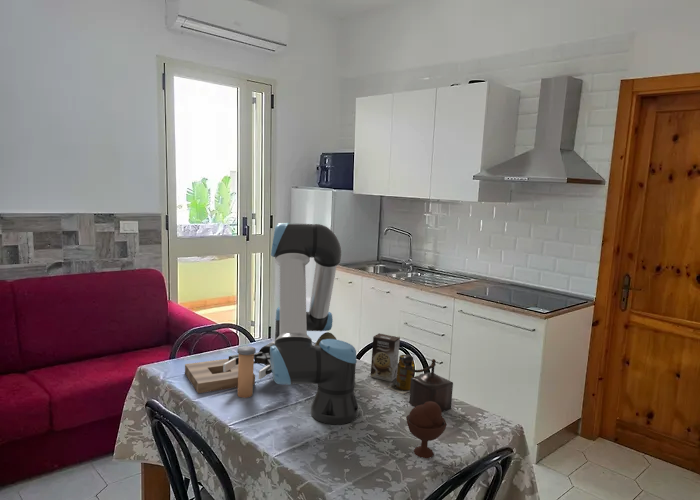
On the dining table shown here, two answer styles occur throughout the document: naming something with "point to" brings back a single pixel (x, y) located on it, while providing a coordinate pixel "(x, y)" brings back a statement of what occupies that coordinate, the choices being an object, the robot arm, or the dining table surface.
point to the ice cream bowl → (426, 426)
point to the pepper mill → (428, 386)
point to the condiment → (402, 378)
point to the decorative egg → (325, 337)
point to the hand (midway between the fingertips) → (241, 371)
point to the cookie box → (385, 357)
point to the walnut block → (212, 376)
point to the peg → (245, 371)
